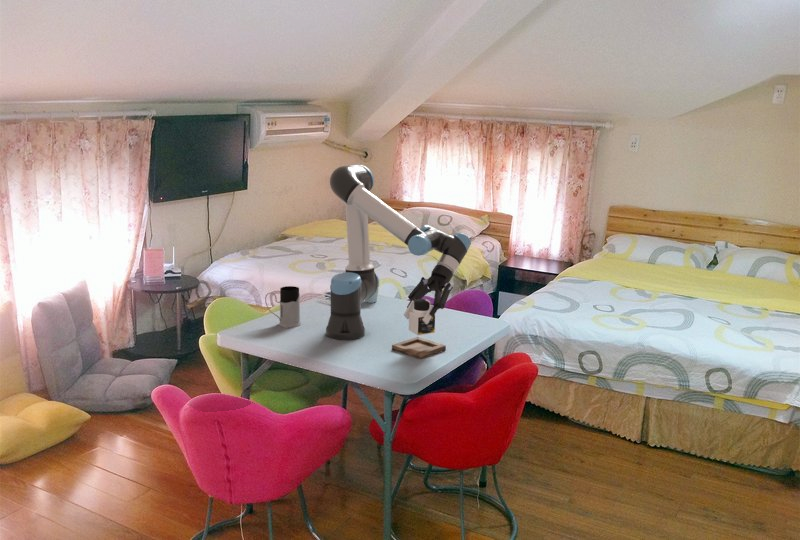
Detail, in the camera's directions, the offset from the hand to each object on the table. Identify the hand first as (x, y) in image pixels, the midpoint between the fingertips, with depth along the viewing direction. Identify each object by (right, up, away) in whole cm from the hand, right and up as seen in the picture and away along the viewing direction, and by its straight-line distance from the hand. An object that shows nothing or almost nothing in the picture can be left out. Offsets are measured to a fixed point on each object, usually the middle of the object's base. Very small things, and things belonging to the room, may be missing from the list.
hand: (415, 319), depth 253 cm
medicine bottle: (+2, -5, +4) cm, 6 cm away
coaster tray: (+1, -11, +5) cm, 13 cm away
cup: (-19, +3, +70) cm, 73 cm away
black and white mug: (-53, -4, +31) cm, 61 cm away
